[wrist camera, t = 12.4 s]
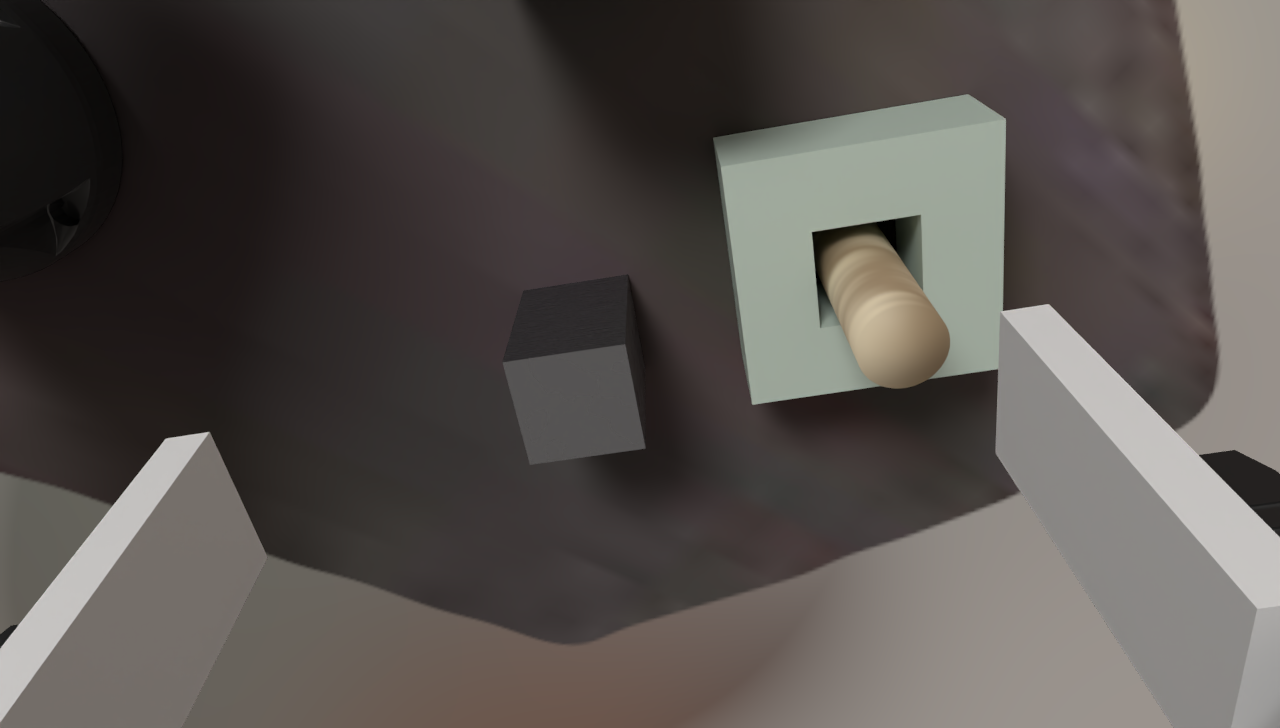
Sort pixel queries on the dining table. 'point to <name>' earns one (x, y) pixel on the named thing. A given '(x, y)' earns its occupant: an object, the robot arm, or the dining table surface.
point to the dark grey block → (577, 371)
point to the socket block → (857, 194)
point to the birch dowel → (880, 306)
